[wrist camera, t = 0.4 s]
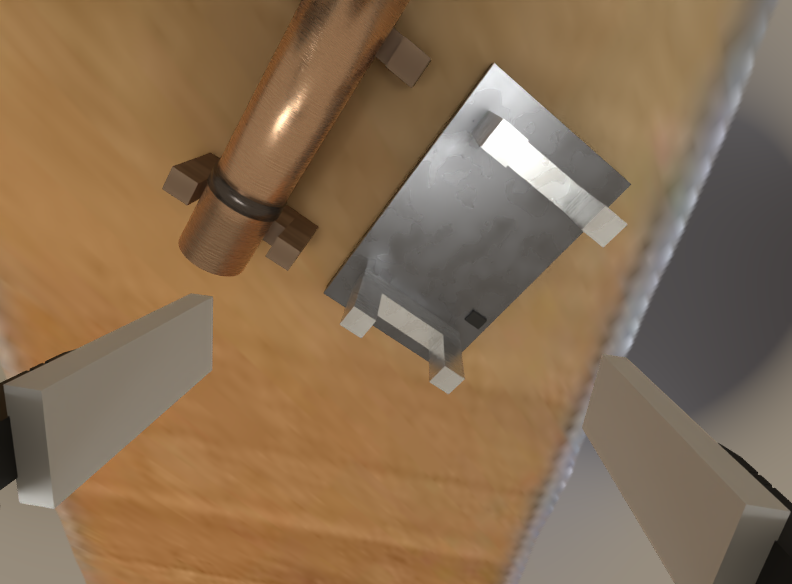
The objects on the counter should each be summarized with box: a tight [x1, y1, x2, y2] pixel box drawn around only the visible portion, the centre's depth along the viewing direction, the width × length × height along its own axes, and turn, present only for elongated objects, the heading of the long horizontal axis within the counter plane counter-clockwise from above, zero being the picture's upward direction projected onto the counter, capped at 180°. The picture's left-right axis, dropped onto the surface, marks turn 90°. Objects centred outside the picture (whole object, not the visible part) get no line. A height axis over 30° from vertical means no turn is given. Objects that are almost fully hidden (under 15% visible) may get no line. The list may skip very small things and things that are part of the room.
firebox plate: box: [324, 63, 631, 394], centre depth 34 cm, size 23×14×8 cm, turn 144°
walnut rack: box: [162, 28, 431, 271], centre depth 31 cm, size 18×11×6 cm, turn 144°
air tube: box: [179, 0, 410, 276], centre depth 28 cm, size 22×5×5 cm, turn 144°
